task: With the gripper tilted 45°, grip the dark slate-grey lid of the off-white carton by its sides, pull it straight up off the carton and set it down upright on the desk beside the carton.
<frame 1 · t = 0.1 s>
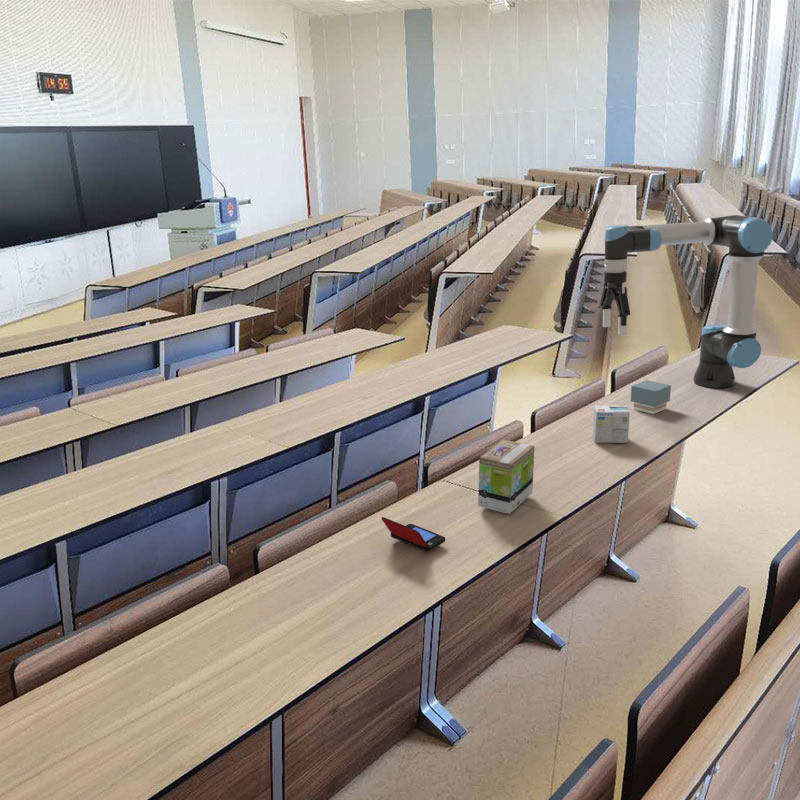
hand: (614, 330, 278), 28 cm above the table, tool pointing down, fingers open, 13 cm apart
carton: (649, 408, 280), on the table
light bulb box: (609, 439, 254), on the table
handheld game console: (414, 543, 194), on the table
lid: (650, 401, 279), point 3 cm above the table, touching carton
tea box: (505, 500, 214), on the table
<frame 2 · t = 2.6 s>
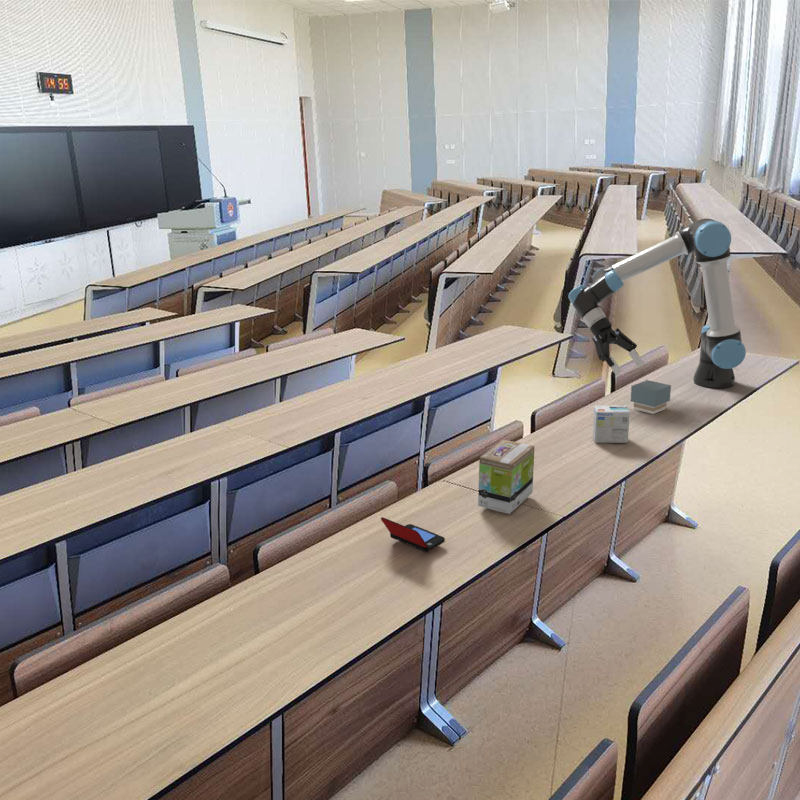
hand: (630, 369, 282), 13 cm above the table, tool tilted 45°, fingers open, 13 cm apart
nothing on the table moved.
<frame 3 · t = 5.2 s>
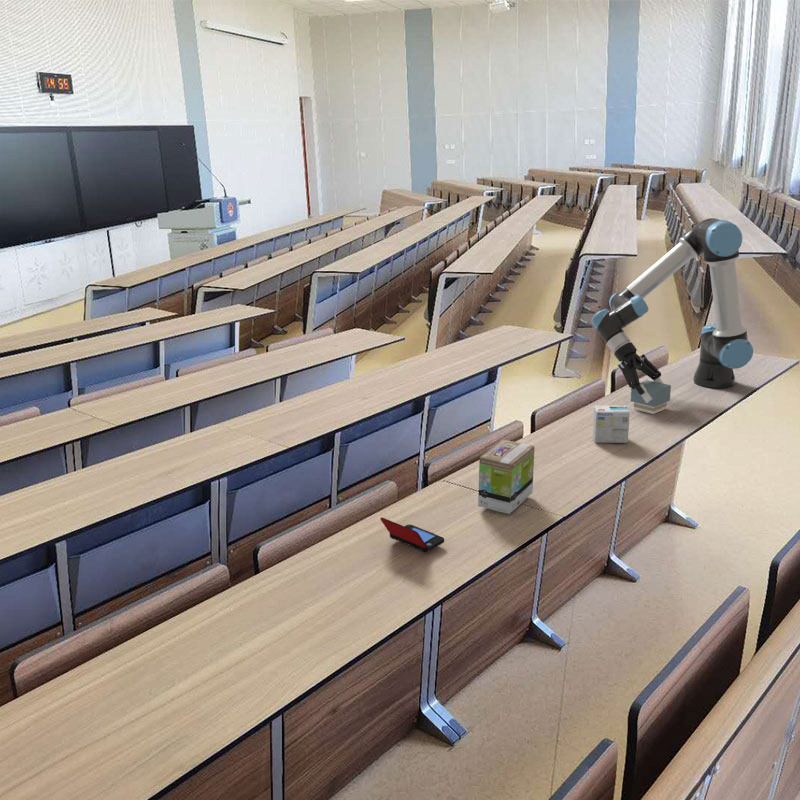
hand: (658, 397, 276), 5 cm above the table, tool tilted 45°, fingers closed on lid, 10 cm apart
lid: (650, 401, 279), point 3 cm above the table, touching carton, gripper
everything else where it was.
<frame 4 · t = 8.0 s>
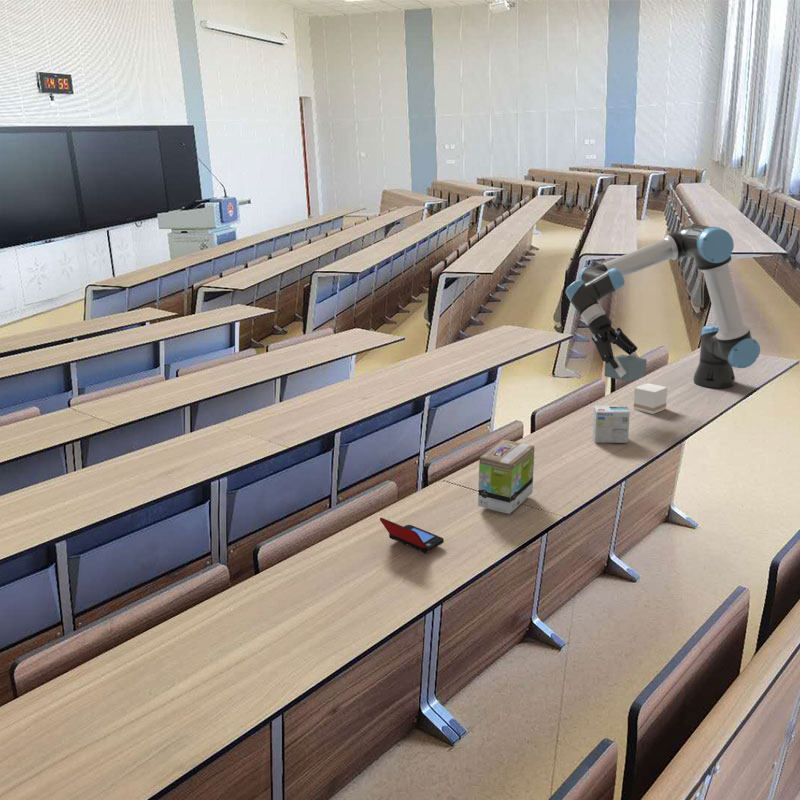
hand: (633, 372, 263), 18 cm above the table, tool tilted 45°, fingers closed on lid, 10 cm apart
lid: (624, 375, 266), point 16 cm above the table, touching gripper
everything else where it was.
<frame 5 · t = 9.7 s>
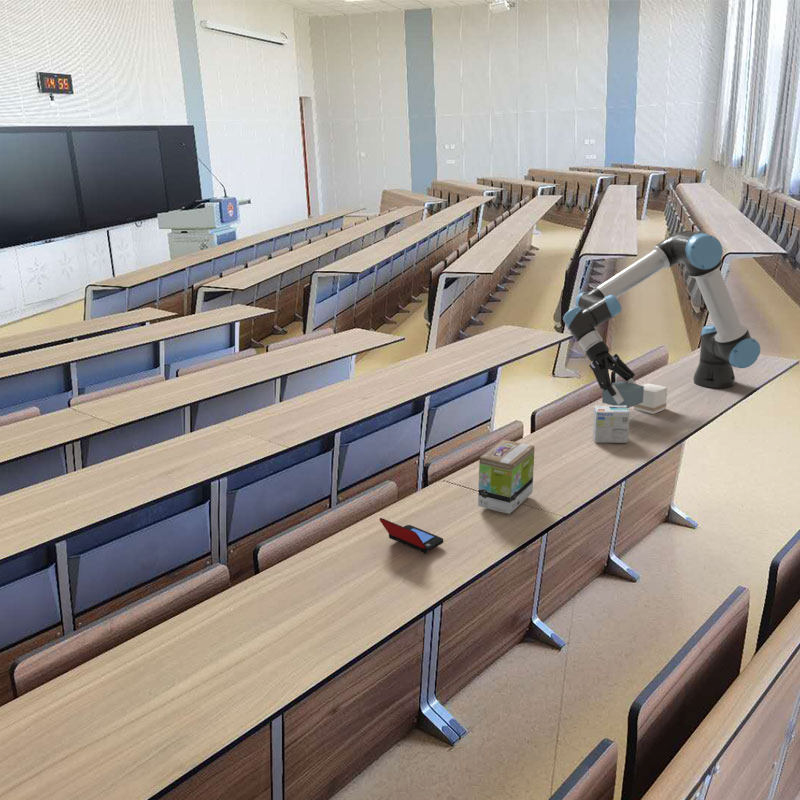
hand: (630, 399, 266), 8 cm above the table, tool tilted 45°, fingers closed on lid, 10 cm apart
lid: (622, 402, 268), point 6 cm above the table, touching gripper
everything else where it was.
when the fingers open (4 cm above the table, at t = 11.1 s): lid drops 2 cm, on the table.
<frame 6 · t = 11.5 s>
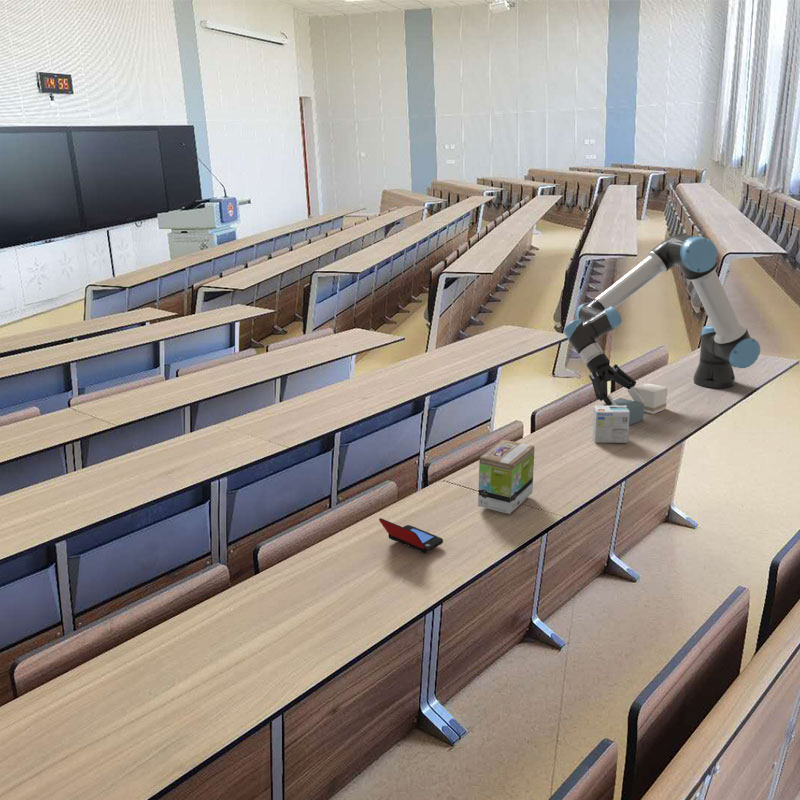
hand: (629, 408, 267), 5 cm above the table, tool tilted 45°, fingers open, 13 cm apart
lid: (623, 419, 271), on the table
everything else where it was.
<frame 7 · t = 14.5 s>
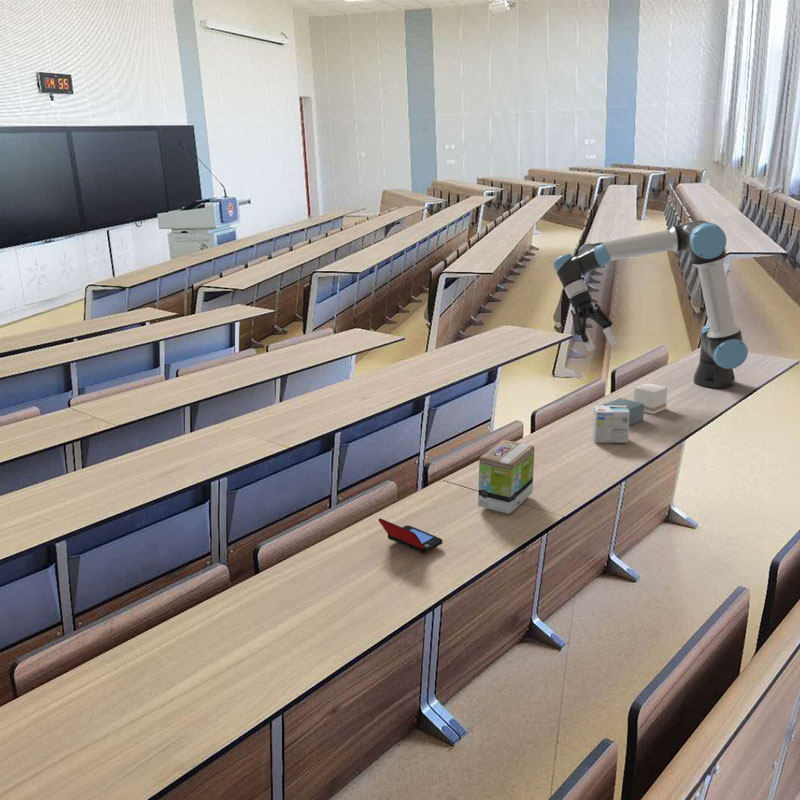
hand: (602, 347, 281), 22 cm above the table, tool tilted 35°, fingers open, 13 cm apart
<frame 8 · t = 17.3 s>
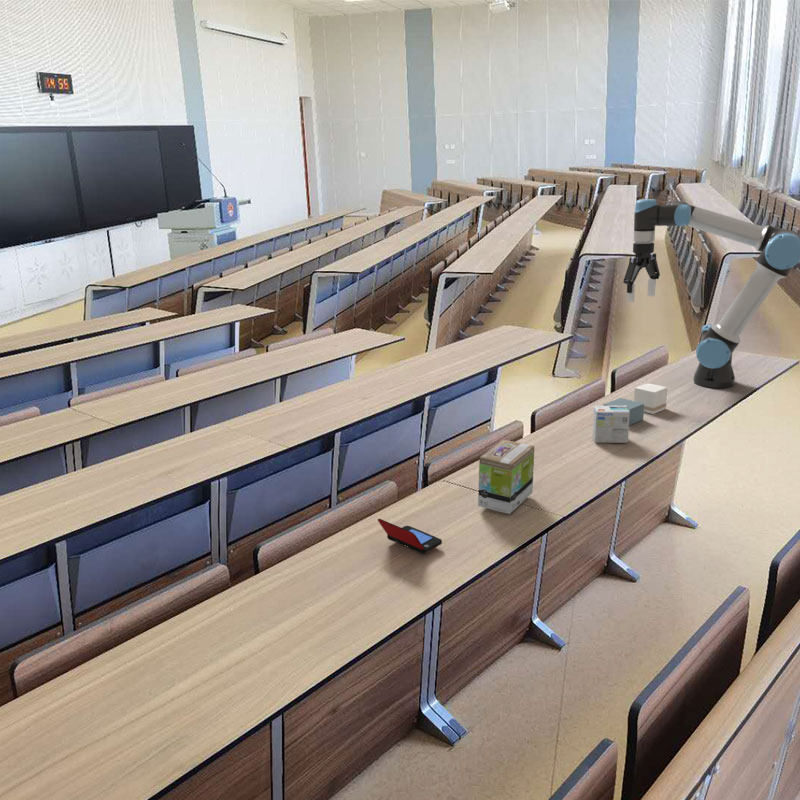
hand: (640, 298, 296), 35 cm above the table, tool pointing down, fingers open, 13 cm apart
at the end: lid moved 16.3 cm from its start; lid on the table; lid tilted 0° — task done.
